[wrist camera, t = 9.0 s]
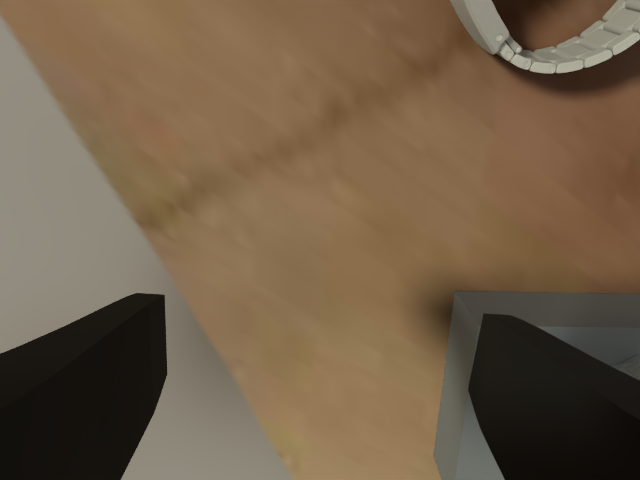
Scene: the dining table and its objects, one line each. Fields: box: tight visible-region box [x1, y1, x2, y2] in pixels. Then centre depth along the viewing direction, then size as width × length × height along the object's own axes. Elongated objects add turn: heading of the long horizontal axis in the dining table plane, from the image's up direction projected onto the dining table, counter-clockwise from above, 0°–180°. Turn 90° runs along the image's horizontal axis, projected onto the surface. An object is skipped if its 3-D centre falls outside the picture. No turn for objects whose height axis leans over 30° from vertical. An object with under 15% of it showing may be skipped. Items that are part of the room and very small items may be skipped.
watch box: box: [434, 291, 640, 480], centre depth 21 cm, size 11×9×4 cm
